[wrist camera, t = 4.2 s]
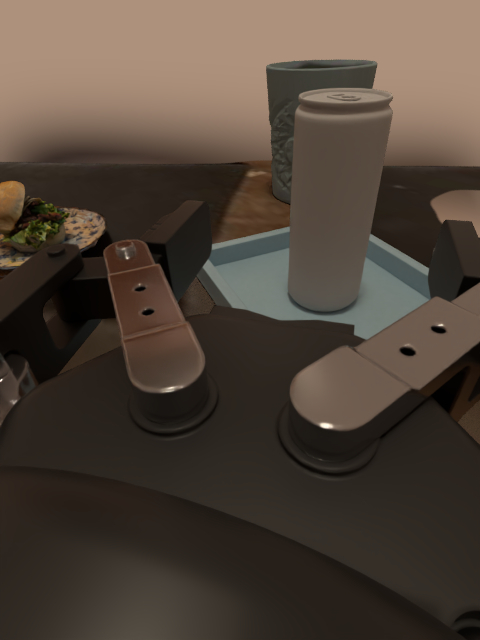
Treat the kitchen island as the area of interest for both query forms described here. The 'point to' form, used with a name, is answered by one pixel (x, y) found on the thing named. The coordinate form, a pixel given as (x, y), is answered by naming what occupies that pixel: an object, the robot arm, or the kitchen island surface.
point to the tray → (276, 302)
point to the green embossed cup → (283, 102)
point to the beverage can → (334, 192)
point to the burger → (40, 226)
